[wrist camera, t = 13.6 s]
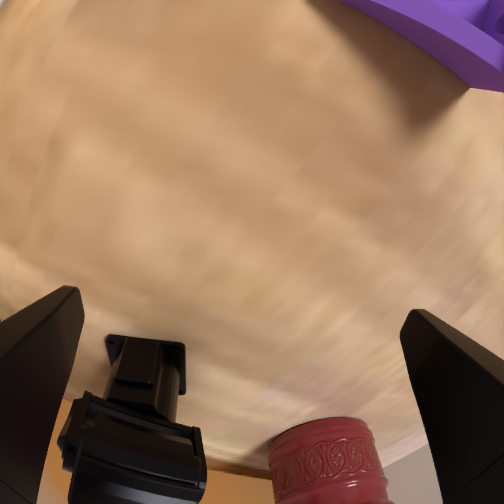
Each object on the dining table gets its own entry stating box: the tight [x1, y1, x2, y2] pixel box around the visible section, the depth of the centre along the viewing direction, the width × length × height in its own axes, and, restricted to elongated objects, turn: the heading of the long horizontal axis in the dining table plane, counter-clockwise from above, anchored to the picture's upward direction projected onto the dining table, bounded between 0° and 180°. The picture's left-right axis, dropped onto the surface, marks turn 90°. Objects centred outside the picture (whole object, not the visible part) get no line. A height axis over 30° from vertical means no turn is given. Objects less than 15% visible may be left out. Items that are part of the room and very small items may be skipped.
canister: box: [268, 417, 394, 504], centre depth 26 cm, size 13×13×18 cm
